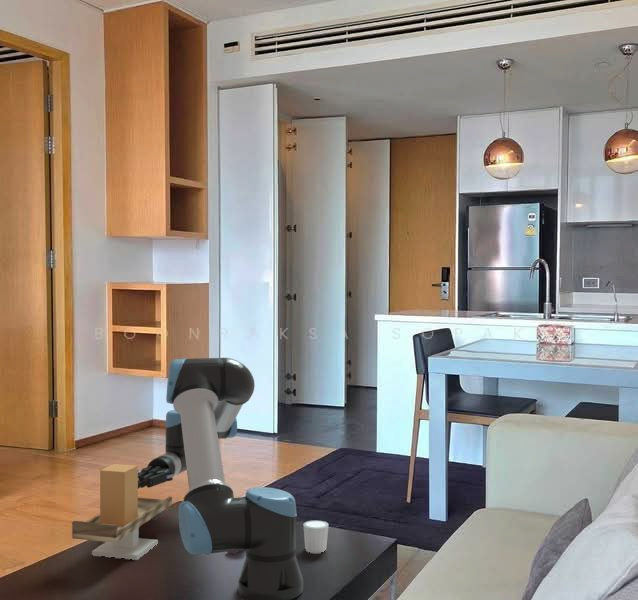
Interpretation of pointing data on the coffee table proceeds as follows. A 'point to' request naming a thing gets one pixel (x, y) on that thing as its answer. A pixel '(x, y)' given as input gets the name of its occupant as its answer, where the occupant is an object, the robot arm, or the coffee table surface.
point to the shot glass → (315, 536)
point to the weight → (118, 494)
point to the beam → (115, 533)
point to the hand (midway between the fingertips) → (124, 489)
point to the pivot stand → (126, 547)
